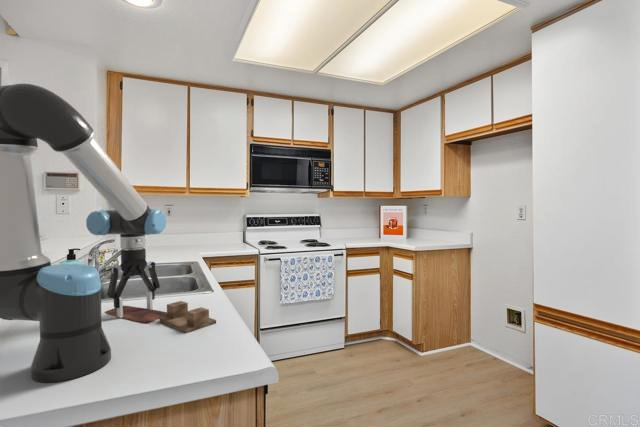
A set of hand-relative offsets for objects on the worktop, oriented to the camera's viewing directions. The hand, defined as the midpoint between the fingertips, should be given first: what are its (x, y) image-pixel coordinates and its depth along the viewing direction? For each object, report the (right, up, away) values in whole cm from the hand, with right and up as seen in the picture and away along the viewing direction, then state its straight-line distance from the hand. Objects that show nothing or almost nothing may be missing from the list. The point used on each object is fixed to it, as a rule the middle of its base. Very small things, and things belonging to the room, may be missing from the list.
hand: (135, 313), depth 117 cm
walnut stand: (+22, 0, -9) cm, 24 cm away
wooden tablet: (0, -1, 0) cm, 1 cm away
